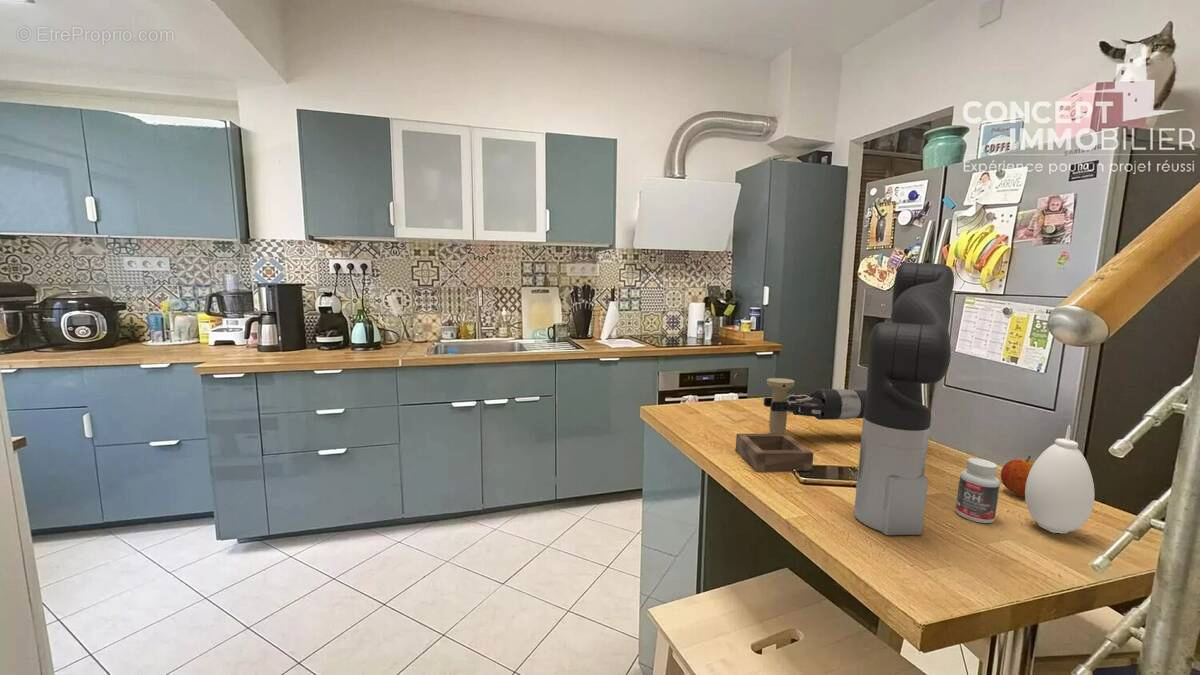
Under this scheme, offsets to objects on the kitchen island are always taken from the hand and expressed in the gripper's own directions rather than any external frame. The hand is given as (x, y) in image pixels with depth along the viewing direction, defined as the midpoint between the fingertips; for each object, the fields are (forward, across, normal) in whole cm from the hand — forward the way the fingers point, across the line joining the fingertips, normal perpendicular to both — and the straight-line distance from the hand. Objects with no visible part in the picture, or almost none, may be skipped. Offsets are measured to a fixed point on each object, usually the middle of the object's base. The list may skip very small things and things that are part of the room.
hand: (768, 404), depth 116 cm
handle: (-3, 0, +9) cm, 10 cm away
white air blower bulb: (-30, +43, +9) cm, 53 cm away
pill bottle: (-21, +38, +9) cm, 44 cm away
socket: (+4, +13, +9) cm, 16 cm away
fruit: (-37, +31, +9) cm, 49 cm away
